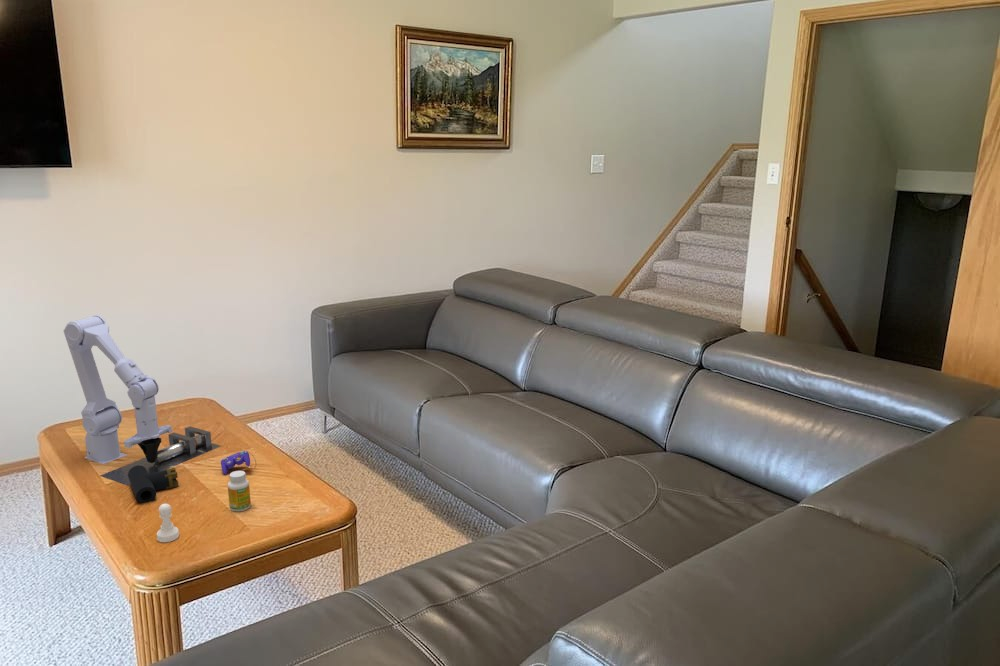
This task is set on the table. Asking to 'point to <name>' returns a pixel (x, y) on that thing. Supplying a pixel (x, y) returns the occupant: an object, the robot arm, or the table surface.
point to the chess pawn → (166, 525)
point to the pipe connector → (150, 482)
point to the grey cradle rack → (191, 452)
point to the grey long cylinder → (175, 450)
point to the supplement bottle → (239, 491)
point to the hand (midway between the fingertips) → (151, 461)
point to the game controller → (235, 461)
